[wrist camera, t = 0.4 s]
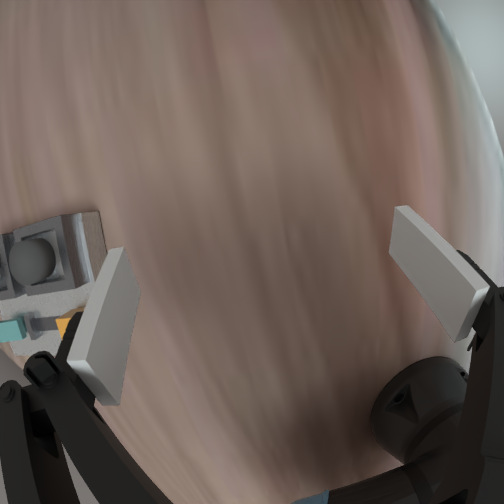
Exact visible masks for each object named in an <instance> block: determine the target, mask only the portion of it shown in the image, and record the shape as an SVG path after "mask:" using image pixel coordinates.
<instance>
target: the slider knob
mask: <svg viewBox="0 0 504 504" xmlns="http://www.w3.org/2000/svg"><path fill="white" fill-rule="evenodd" d="M84 309H85V307H84V308H76V309H72V310H70V311H68V312H67V313H65V314H64V315H62V316H60V317H59V318H57V319H55V320H56V323H57V326H58V329H59V333H60V336H61V339H62V338H63V335H64V332H65V330H66V327H67V325H68V322H69V320H70V319H71V318H72V317H73V315H74V314H75V313H76V312H81V311H84ZM62 340H63V339H62Z"/></svg>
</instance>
